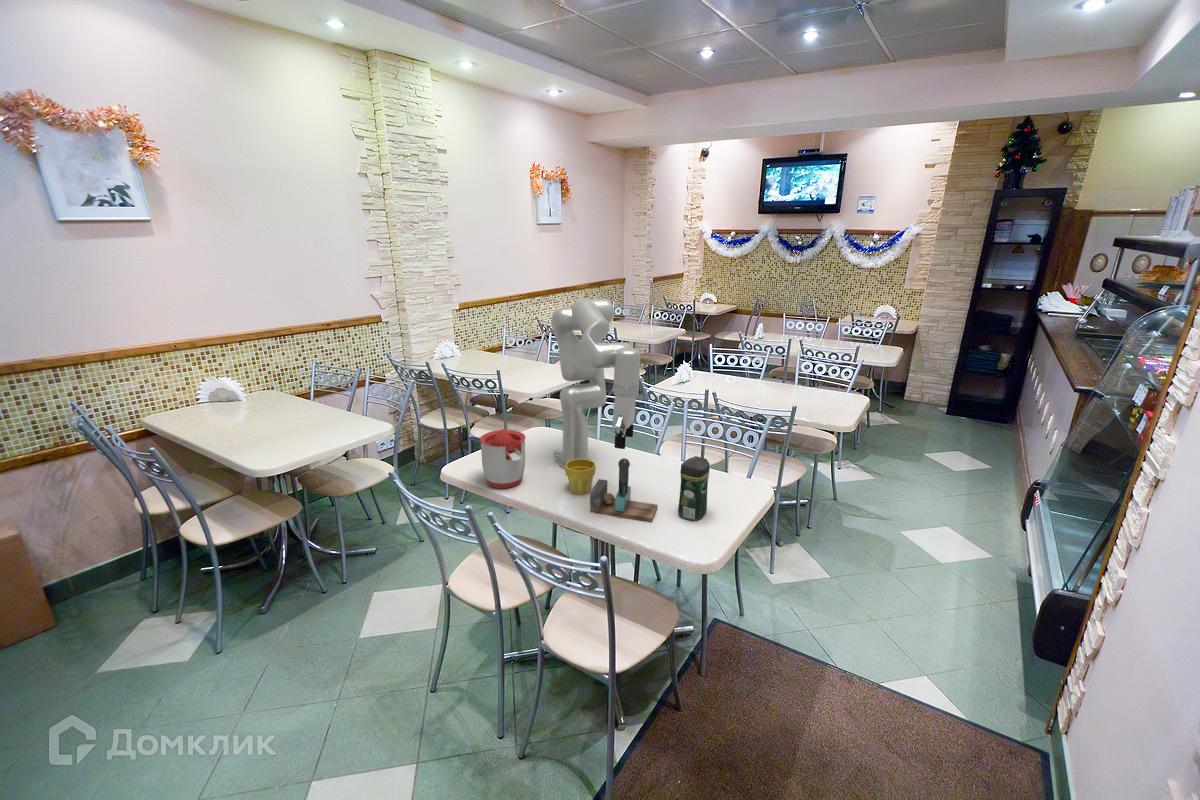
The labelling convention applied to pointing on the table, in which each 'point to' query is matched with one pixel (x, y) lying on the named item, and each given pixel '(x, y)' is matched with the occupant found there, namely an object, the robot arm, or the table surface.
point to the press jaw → (623, 486)
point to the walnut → (608, 498)
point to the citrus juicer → (503, 457)
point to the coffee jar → (693, 488)
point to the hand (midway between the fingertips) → (623, 442)
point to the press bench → (600, 507)
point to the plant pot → (580, 475)
